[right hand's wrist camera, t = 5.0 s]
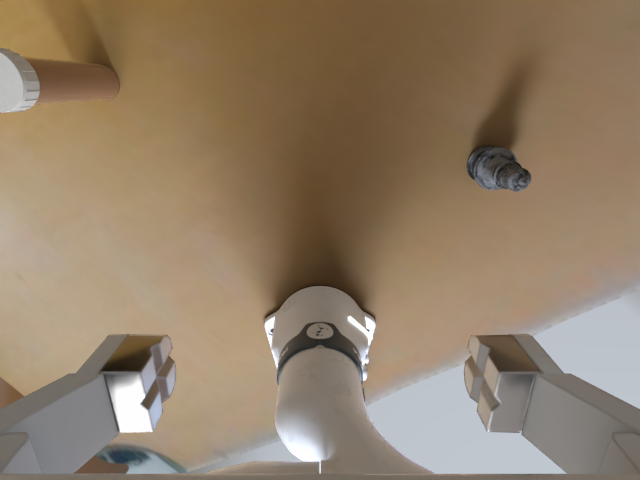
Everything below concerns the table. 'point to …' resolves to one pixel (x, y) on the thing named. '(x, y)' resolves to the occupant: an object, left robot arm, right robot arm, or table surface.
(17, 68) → the lid
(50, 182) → the table surface
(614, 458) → the right robot arm
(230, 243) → the table surface
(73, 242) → the table surface
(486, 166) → the grey stone chess piece
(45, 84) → the tan cylinder
